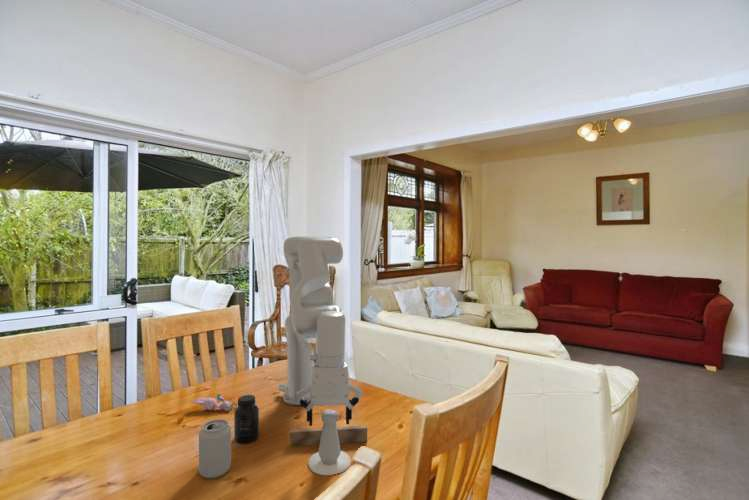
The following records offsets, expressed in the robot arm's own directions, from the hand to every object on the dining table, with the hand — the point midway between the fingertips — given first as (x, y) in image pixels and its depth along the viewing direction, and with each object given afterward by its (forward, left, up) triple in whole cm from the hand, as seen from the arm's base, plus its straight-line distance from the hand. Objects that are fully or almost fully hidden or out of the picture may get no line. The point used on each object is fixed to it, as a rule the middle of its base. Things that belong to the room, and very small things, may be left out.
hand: (329, 422), depth 100 cm
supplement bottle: (-28, +3, -11) cm, 30 cm away
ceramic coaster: (0, -1, -10) cm, 10 cm away
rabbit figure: (-49, +16, -11) cm, 53 cm away
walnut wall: (-4, +8, -10) cm, 14 cm away
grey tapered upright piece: (0, 0, -10) cm, 10 cm away
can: (-26, -13, -11) cm, 30 cm away
